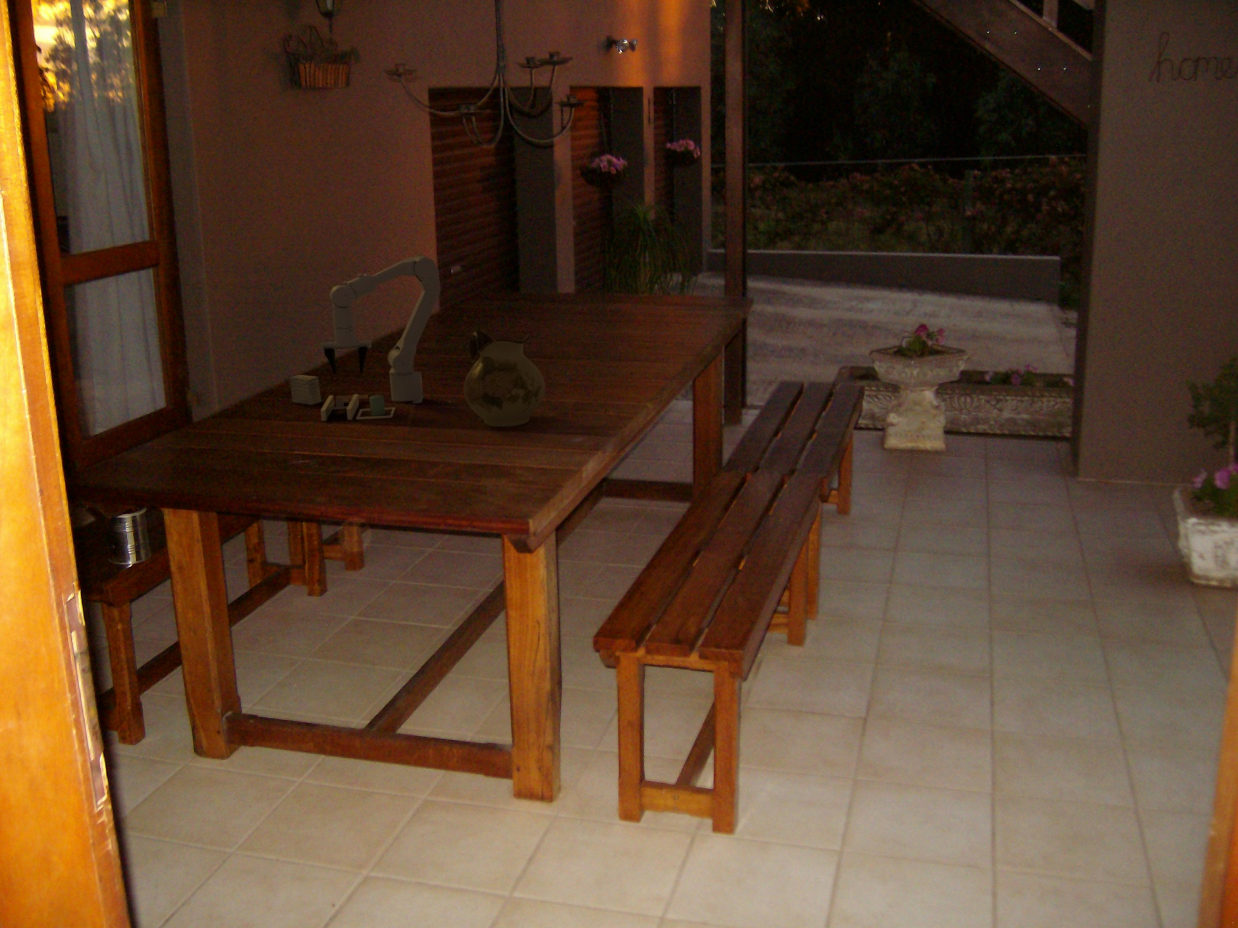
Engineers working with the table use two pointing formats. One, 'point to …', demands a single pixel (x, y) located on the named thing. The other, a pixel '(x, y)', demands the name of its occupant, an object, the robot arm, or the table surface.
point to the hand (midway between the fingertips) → (348, 373)
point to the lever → (342, 399)
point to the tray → (375, 416)
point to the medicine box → (305, 389)
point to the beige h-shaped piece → (330, 403)
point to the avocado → (377, 405)
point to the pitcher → (502, 381)
